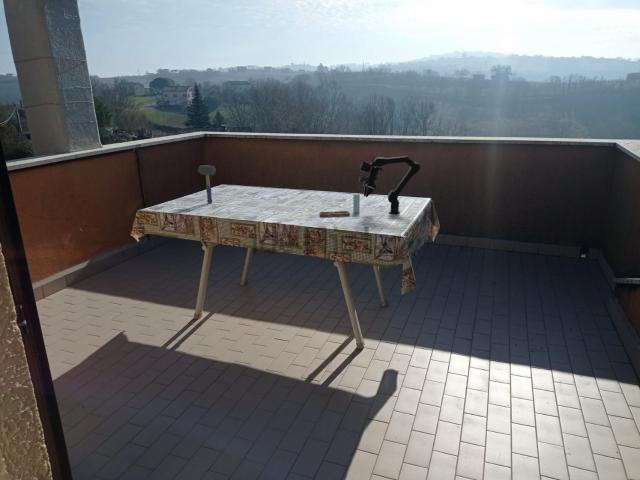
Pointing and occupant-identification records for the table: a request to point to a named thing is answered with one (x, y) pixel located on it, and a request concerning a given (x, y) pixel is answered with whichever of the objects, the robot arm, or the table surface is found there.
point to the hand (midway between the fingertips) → (365, 196)
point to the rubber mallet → (207, 178)
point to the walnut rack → (335, 214)
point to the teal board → (356, 203)
